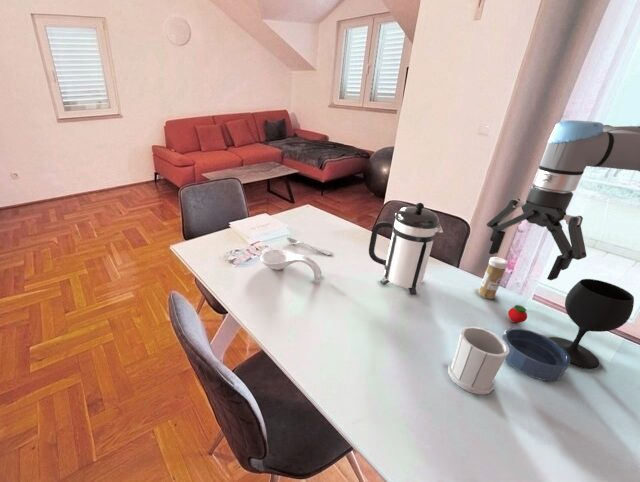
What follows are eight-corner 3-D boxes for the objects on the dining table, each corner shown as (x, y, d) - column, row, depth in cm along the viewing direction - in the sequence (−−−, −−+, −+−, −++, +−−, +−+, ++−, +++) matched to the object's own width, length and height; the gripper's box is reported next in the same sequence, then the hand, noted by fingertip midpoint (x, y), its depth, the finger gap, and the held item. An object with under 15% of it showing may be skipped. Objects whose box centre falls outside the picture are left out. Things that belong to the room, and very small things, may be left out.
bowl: (547, 350, 82) (555, 336, 80) (572, 389, 72) (581, 373, 70) (491, 337, 86) (497, 323, 84) (507, 372, 76) (514, 357, 74)
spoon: (288, 239, 140) (288, 235, 140) (332, 252, 129) (333, 249, 128) (284, 242, 137) (284, 239, 136) (329, 257, 126) (329, 253, 125)
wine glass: (543, 353, 81) (575, 290, 73) (544, 332, 88) (574, 271, 80) (601, 377, 75) (644, 310, 67) (597, 351, 82) (635, 288, 74)
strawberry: (520, 319, 93) (526, 305, 91) (526, 328, 89) (532, 314, 87) (503, 315, 94) (509, 301, 92) (508, 324, 91) (514, 310, 89)
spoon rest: (254, 267, 119) (254, 250, 116) (269, 254, 128) (270, 239, 125) (313, 288, 106) (315, 271, 104) (325, 273, 115) (327, 256, 112)
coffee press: (409, 269, 118) (428, 193, 106) (434, 295, 103) (459, 211, 91) (363, 269, 117) (377, 194, 105) (382, 296, 103) (401, 212, 91)
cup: (446, 353, 81) (459, 317, 76) (489, 368, 77) (506, 331, 72) (447, 384, 73) (461, 345, 68) (495, 403, 68) (514, 363, 64)
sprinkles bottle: (491, 301, 100) (505, 265, 95) (475, 294, 104) (488, 259, 99) (496, 296, 103) (510, 260, 98) (480, 289, 106) (493, 254, 101)
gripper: (487, 176, 84) (464, 246, 92) (617, 208, 62) (573, 295, 71) (504, 173, 86) (481, 241, 95) (636, 203, 65) (590, 287, 73)
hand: (520, 265), depth 83 cm, fingers open, 13 cm apart
